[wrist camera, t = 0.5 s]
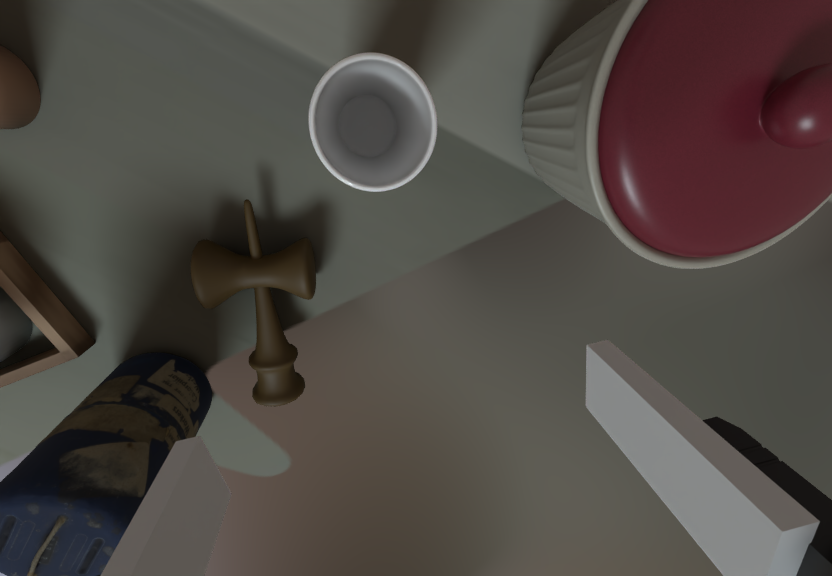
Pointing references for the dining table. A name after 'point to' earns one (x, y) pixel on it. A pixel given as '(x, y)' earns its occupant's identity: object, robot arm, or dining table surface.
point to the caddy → (38, 316)
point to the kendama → (259, 302)
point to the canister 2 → (690, 124)
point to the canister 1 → (98, 468)
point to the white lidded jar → (12, 326)
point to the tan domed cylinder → (16, 92)
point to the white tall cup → (372, 121)
